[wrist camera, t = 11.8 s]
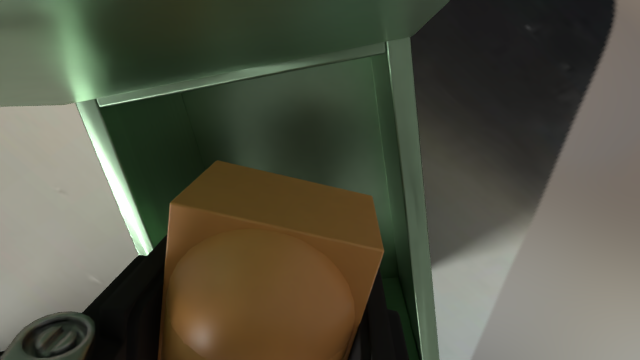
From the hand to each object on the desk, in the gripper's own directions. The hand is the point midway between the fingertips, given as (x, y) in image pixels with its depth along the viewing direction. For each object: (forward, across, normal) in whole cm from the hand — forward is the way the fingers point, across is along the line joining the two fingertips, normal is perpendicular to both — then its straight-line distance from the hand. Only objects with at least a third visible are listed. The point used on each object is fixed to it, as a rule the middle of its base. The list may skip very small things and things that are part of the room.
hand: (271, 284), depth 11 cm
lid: (-6, +3, -7) cm, 9 cm away
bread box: (+8, 0, 0) cm, 8 cm away
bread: (0, 0, 0) cm, 0 cm away
